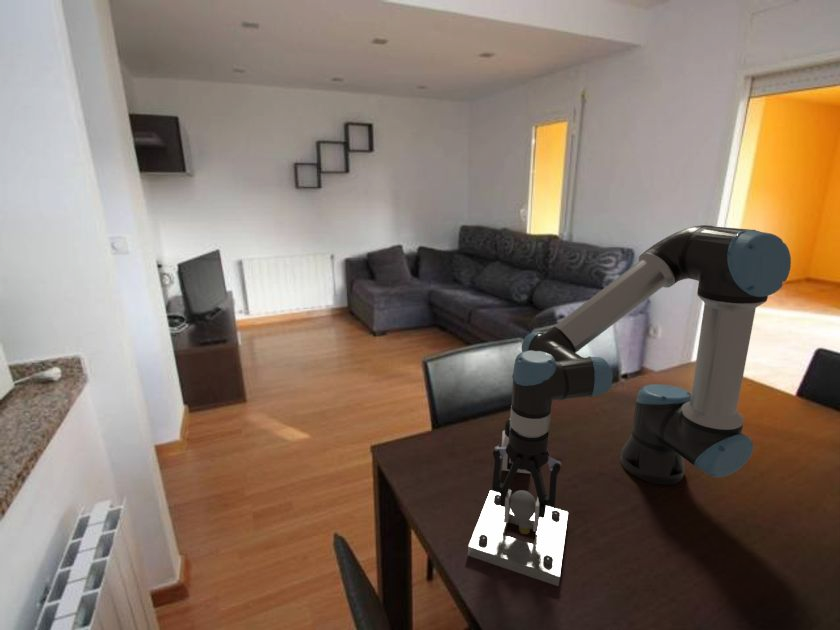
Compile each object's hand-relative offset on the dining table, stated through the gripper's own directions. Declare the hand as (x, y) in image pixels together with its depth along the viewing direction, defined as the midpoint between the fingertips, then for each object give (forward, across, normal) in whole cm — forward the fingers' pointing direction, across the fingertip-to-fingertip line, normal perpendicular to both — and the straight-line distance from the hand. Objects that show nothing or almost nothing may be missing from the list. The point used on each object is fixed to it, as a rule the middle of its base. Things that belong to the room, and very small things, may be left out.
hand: (521, 522), depth 91 cm
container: (+4, +6, -25) cm, 26 cm away
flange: (+4, 0, 0) cm, 4 cm away
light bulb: (+3, -1, 0) cm, 3 cm away
